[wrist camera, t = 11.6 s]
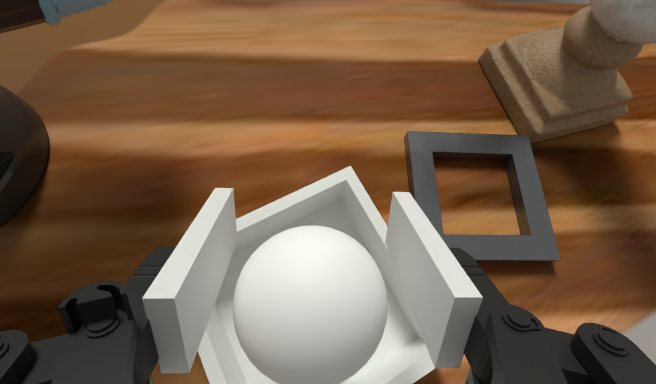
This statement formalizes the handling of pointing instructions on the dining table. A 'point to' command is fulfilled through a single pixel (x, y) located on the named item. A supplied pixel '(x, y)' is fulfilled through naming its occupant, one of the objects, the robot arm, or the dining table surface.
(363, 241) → the bin
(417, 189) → the dark grey square frame
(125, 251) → the dining table surface
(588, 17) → the candle holder
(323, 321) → the lightbulb
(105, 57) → the dining table surface
